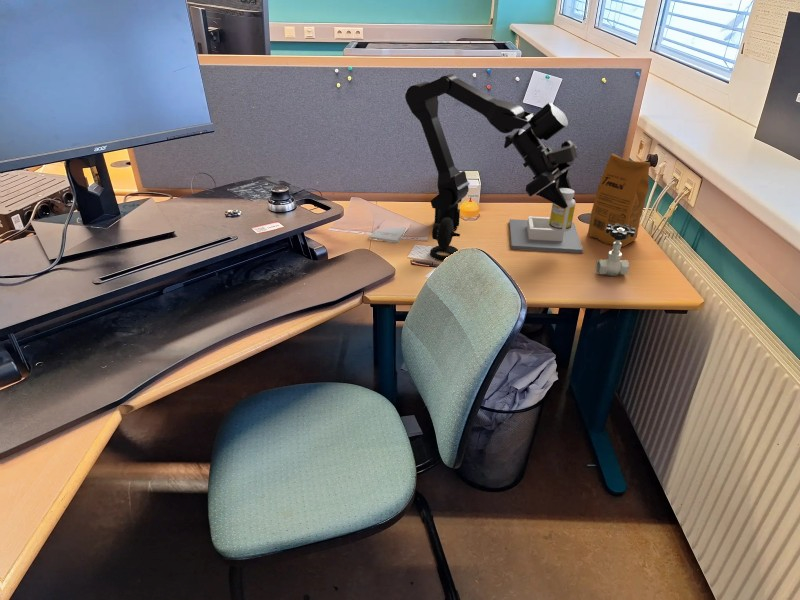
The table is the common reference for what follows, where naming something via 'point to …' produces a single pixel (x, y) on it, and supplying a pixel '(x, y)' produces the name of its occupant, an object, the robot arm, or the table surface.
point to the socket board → (543, 236)
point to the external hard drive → (389, 234)
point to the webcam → (443, 238)
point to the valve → (615, 252)
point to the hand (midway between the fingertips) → (569, 204)
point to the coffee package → (619, 198)
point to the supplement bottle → (563, 212)
